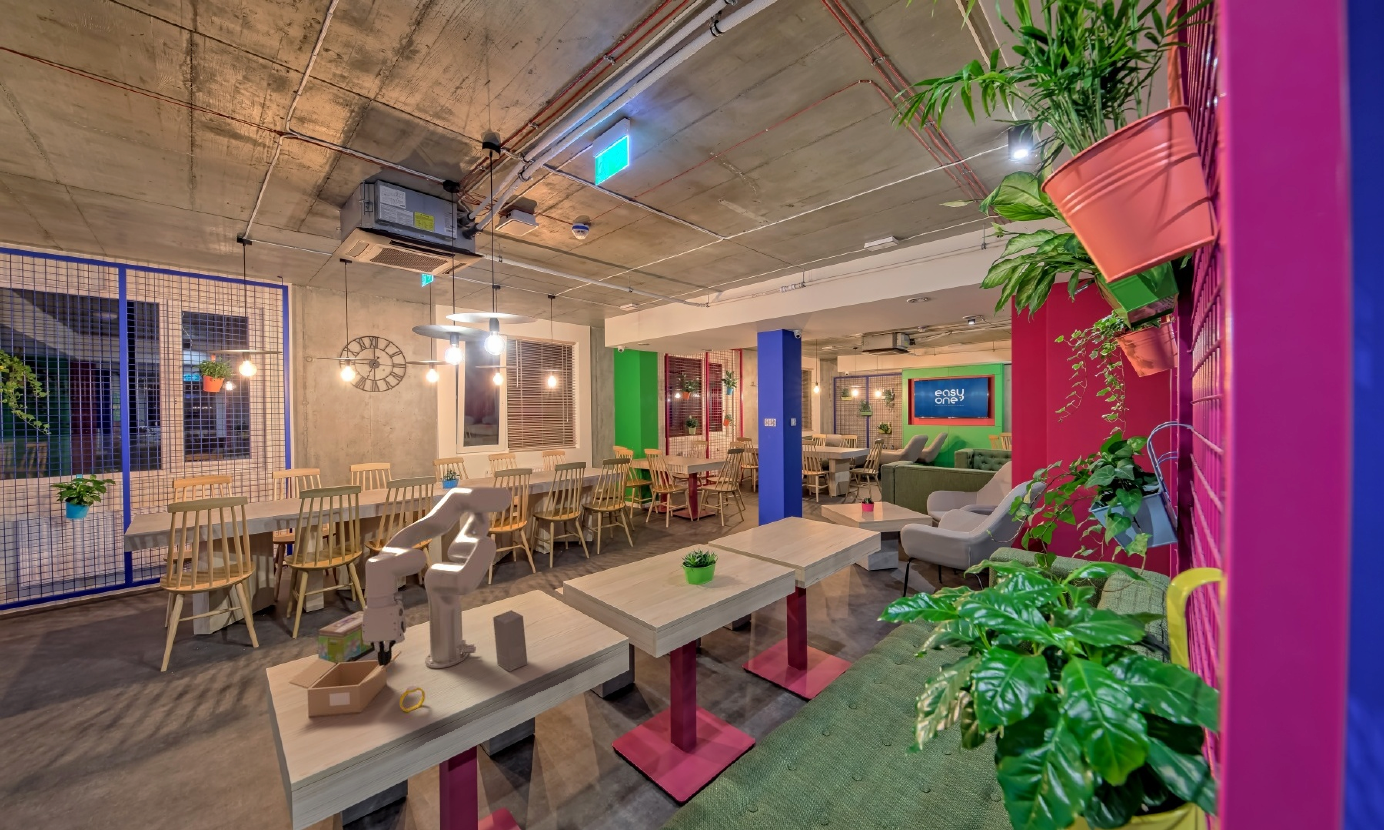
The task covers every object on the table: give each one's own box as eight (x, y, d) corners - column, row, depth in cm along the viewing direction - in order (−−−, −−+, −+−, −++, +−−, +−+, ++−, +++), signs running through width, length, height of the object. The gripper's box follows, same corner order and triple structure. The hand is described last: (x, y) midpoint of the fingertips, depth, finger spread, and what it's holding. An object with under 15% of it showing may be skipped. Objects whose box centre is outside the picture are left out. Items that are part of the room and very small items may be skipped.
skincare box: (527, 664, 157) (526, 615, 156) (506, 673, 151) (504, 622, 151) (515, 655, 162) (513, 608, 162) (493, 664, 157) (492, 615, 157)
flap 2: (385, 659, 146) (386, 660, 146) (362, 682, 134) (362, 684, 134) (401, 650, 147) (401, 652, 147) (379, 673, 134) (379, 674, 134)
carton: (386, 683, 147) (385, 659, 147) (359, 713, 133) (358, 685, 133) (340, 687, 146) (339, 662, 146) (308, 717, 132) (307, 689, 132)
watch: (422, 703, 138) (423, 681, 138) (425, 707, 136) (426, 685, 136) (398, 711, 133) (399, 689, 134) (401, 715, 132) (402, 693, 132)
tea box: (345, 680, 150) (343, 632, 150) (317, 677, 152) (316, 629, 152) (385, 655, 165) (383, 611, 165) (359, 652, 167) (358, 609, 167)
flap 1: (319, 658, 144) (318, 659, 144) (289, 681, 132) (288, 682, 132) (336, 663, 145) (335, 664, 145) (308, 687, 133) (307, 688, 133)
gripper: (416, 593, 145) (418, 654, 145) (362, 596, 143) (364, 658, 144) (403, 603, 137) (406, 668, 138) (346, 606, 136) (349, 672, 136)
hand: (385, 663), depth 141 cm, fingers closed
